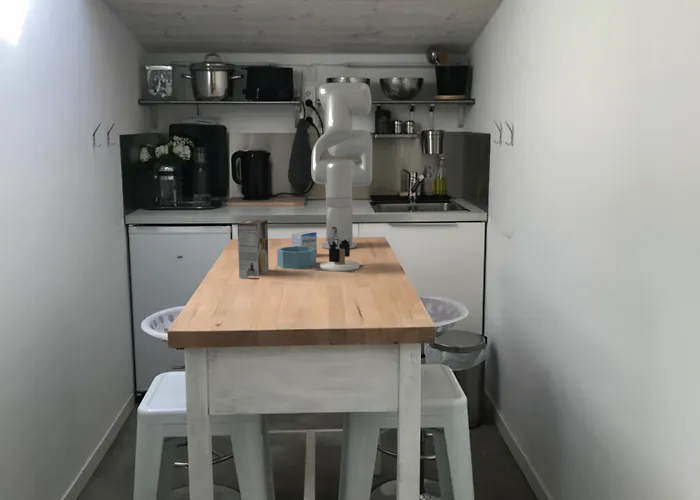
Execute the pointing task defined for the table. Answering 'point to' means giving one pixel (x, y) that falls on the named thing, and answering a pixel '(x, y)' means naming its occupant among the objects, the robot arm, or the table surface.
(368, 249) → the table surface
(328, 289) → the table surface
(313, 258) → the pot
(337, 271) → the mat
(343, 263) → the lid
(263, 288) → the table surface
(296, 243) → the medicine box
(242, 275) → the coffee box
